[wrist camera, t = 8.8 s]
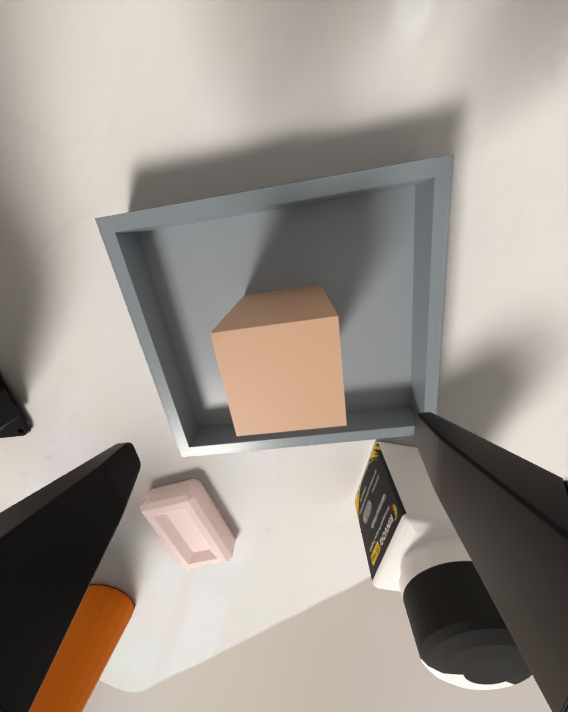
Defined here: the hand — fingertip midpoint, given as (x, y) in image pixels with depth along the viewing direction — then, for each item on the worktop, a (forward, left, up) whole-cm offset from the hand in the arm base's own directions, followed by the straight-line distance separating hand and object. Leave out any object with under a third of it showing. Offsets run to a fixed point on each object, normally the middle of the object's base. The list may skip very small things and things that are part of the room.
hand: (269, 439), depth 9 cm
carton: (0, 0, -11) cm, 11 cm away
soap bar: (-12, -18, -12) cm, 25 cm away
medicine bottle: (+8, -15, -12) cm, 21 cm away
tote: (0, 0, -12) cm, 12 cm away
